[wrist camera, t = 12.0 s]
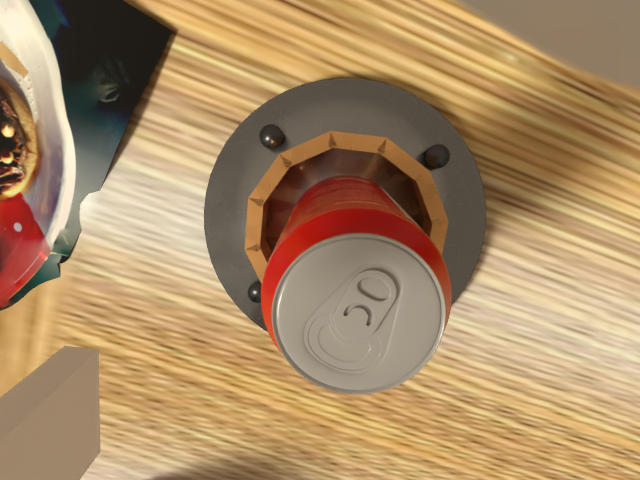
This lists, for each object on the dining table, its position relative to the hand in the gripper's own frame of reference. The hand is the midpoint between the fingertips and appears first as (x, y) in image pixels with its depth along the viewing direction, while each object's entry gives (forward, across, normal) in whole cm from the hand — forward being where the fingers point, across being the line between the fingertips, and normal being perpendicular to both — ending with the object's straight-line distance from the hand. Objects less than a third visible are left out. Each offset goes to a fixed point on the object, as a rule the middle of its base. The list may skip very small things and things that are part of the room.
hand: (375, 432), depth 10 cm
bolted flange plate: (+22, 0, 0) cm, 22 cm away
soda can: (+21, 0, 0) cm, 21 cm away
